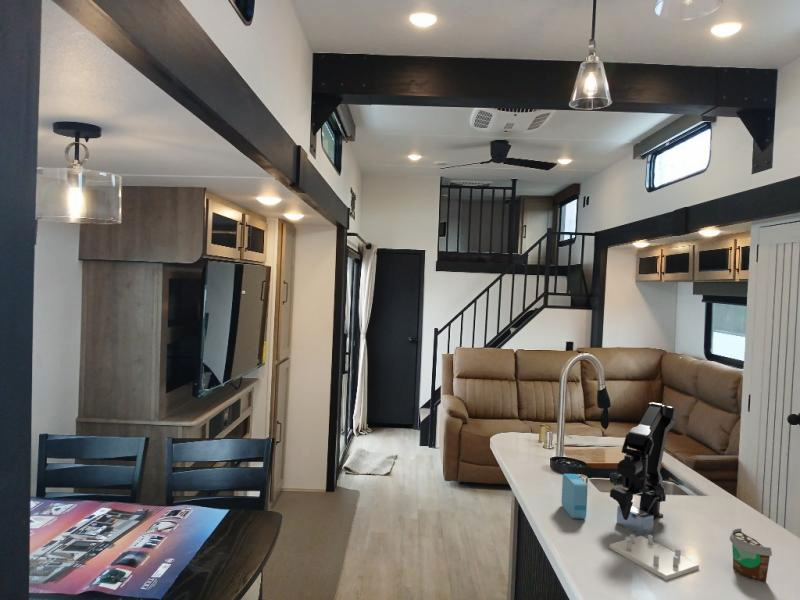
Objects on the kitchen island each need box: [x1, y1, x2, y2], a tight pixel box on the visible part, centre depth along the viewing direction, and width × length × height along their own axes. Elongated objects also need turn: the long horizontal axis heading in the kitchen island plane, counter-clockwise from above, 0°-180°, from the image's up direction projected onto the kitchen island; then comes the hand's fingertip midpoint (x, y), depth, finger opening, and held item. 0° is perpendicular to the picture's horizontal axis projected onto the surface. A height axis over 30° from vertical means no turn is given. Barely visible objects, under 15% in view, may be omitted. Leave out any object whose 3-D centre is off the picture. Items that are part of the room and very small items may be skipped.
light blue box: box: [561, 473, 588, 520], centre depth 188 cm, size 12×4×12 cm, turn 2°
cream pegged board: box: [609, 533, 700, 581], centre depth 158 cm, size 14×19×4 cm
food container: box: [729, 528, 773, 583], centre depth 152 cm, size 12×6×10 cm, turn 5°
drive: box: [616, 504, 654, 537], centre depth 178 cm, size 5×10×6 cm, turn 26°
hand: (634, 517), depth 178 cm, fingers open, 9 cm apart
